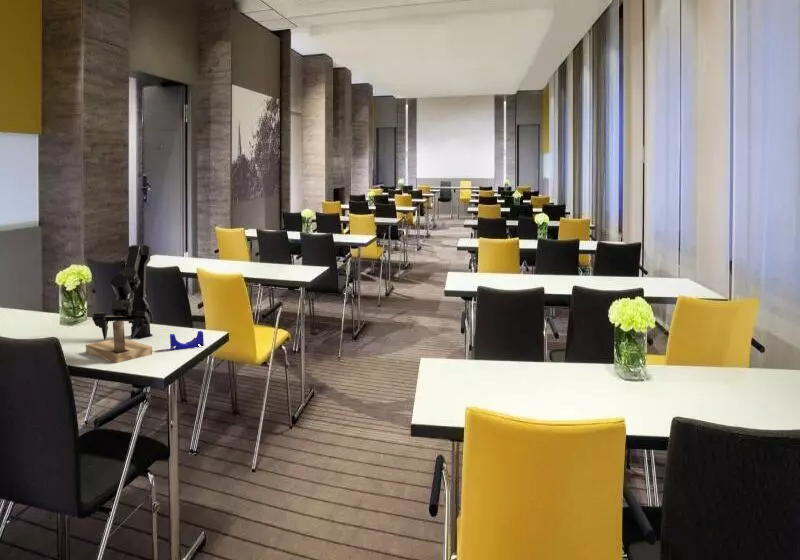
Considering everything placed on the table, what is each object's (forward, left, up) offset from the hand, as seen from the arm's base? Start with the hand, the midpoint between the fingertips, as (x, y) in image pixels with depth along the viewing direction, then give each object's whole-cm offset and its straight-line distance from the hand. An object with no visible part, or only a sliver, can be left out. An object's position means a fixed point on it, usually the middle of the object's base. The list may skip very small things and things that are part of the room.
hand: (118, 338), depth 210 cm
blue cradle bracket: (-25, +4, -9) cm, 27 cm away
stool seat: (-4, -8, -8) cm, 12 cm away
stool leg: (-1, -1, -8) cm, 8 cm away
